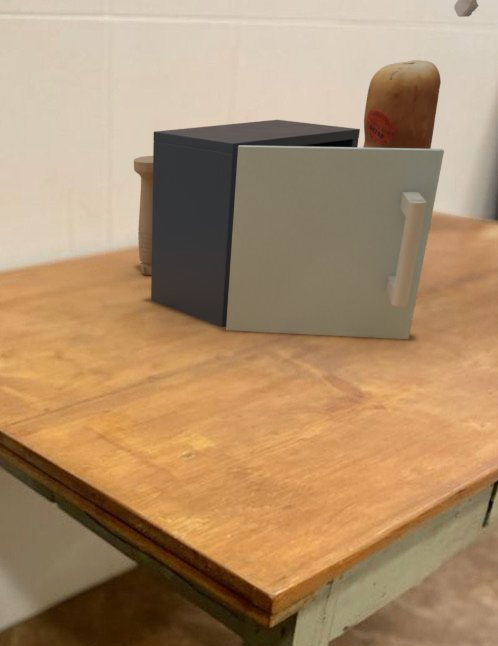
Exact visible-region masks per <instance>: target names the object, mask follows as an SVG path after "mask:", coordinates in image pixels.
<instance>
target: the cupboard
mask: <svg viewBox="0 0 498 646" xmlns="http://www.w3.org/2000/svg"><path fill="white" fill-rule="evenodd" d="M360 133H361V129H360V128H355V127H344V126H336V125H327V124H320V123H319V124H318V123H310V122H309V123H308V122H301V121H294V120H293V121H292V120H284V119H270V120H260V121H250V122H249V121H247V122H242V123H241V122H239V123H229V124H227V123H226V124H219V125H218V124H217V125H209V126H208V125H207V126H197V127H187V128H176V129H165V130H157V131H153V139H152V140H153V143H152V144H153V146H152V149H153V150H152V151H153V153H152V156H153V205H152V269H151V277H150V279H151V280H150V301H151V302H153V303H157V304H159V305H162V306H165V307H167V308H170V309H172V310H175V311H178V312H181V313H183V314H186V315H187V316H191V317H193V318H197V319H198V320H202V321H205V322H207V323H210V324H212V325H215V326H218V327H220V328H224V327H226V324H227V309H228V294H229V279H230V264H231V249H232V233H233V218H234V203H235V188H236V173H237V158H238V146H239V145H253V146H308V147H358V145H359V138H360Z"/></svg>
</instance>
